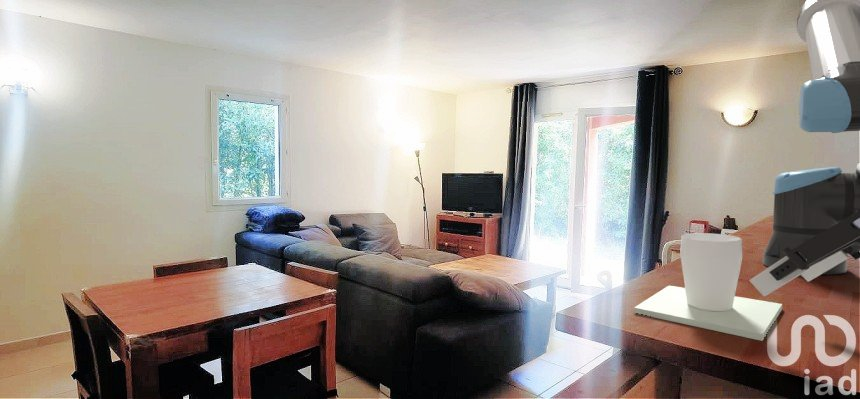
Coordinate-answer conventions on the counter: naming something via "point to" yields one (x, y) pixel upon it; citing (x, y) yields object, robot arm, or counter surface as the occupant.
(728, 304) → the cup
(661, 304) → the sage board
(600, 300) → the counter surface
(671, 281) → the counter surface
